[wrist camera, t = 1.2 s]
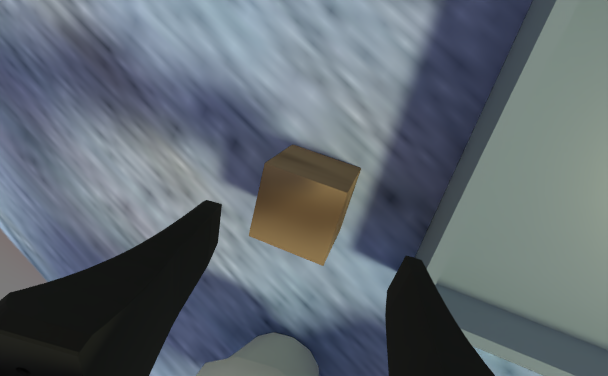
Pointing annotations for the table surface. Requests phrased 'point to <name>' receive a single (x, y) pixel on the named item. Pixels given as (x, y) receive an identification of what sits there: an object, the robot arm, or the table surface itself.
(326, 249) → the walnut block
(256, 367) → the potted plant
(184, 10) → the table surface
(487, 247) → the slate bin
